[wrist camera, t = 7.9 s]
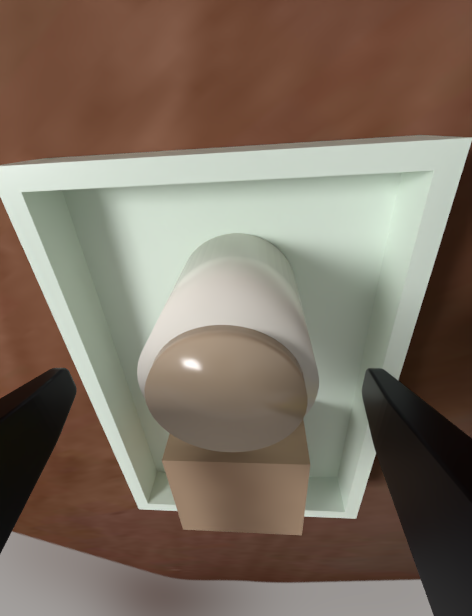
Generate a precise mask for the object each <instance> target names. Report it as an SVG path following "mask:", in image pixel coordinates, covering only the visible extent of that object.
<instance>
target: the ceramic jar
mask: <svg viewBox="0 0 472 616" xmlns="http://www.w3.org/2000/svg"><path fill="white" fill-rule="evenodd" d="M137 377H138V383H139V387H140V390H141V392H142V394H143V396H144V398H145V400H146V404H147V406H148V409H149V411H150V413H151V414H152V416H153V417H154V419H155V420H156V421H157V422H158V424H160V425H161V426H162V427H163V428H164V429H165V430H166V431H167V432H169V433H170V434H171V435H173V436H175V437H176V438H178V439H180V440H182V441H184V442H186V443H188V444H191V445H194V446H197V447H200V448H203V449H208V450H213V451H220V452H245V451H252V450H258V449H261V448H265V447H268V446H271V445H273V444H275V443H277V442H279V441H281V440H283V439H284V438H286V437H287V436H289V435H290V434H291V433H292V432H293V431H295V429H296V428H297V427H298V426H299V425H300V423H301V422H302V420H303V418H304V417H305V415H306V414H307V413H308V412H309V411H310V409H311V407H312V406H313V404H314V402H315V400H316V397H317V394H318V389H319V375H318V369H317V365H316V361H315V357H314V353H313V349H312V345H311V341H310V337H309V333H308V329H307V325H306V321H305V317H304V313H303V309H302V305H301V301H300V296H299V292H298V288H297V284H296V280H295V276H294V273H293V270H292V267H291V265H290V263H289V261H288V260H287V258H286V257H285V255H284V254H283V253H282V252H281V251H280V250H279V249H278V248H277V247H276V246H274V245H273V244H271V243H270V242H268V241H266V240H264V239H262V238H260V237H257V236H253V235H249V234H243V233H232V234H225V235H221V236H217V237H215V238H212V239H210V240H208V241H206V242H204V243H203V244H202V245H200V246H199V247H198V248H197V249H196V250H195V251H194V252H193V253H192V254H191V256H190V257H189V258H188V260H187V262H186V264H185V266H184V268H183V270H182V272H181V274H180V276H179V278H178V280H177V282H176V284H175V286H174V288H173V290H172V292H171V294H170V296H169V298H168V300H167V302H166V304H165V306H164V308H163V310H162V312H161V314H160V316H159V318H158V320H157V322H156V324H155V326H154V328H153V330H152V332H151V334H150V336H149V338H148V340H147V342H146V344H145V346H144V348H143V350H142V352H141V355H140V358H139V361H138V367H137Z"/></svg>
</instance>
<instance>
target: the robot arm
mask: <svg viewBox="0 0 472 616" xmlns="http://www.w3.org/2000/svg"><path fill="white" fill-rule="evenodd" d="M75 395H76V385H75V383H74V381H73V379H72V377H71V374H70V372H69V371H68V370H67V369H66V368H52V369H50V370H48V371H47V372H45V373H43V374H41V375H40V376H38V377H36V378H35V379H33V380H31V381H30V382H28V383H26V384H24V385H23V386H21V387H19V388H18V389H16V390H14V391H13V392H11V393H9V394H7V395H6V396H4V397H2V398H1V399H0V553H1V551H2V549H3V547H4V546H5V543H6V541H7V540H8V538H9V536H10V533H11V532H12V530H13V528H14V526H15V524H16V522H17V520H18V518H19V516H20V514H21V512H22V510H23V508H24V506H25V504H26V502H27V500H28V498H29V496H30V494H31V492H32V490H33V488H34V486H35V485H36V483H37V481H38V479H39V477H40V475H41V473H42V471H43V469H44V467H45V465H46V463H47V461H48V459H49V457H50V455H51V453H52V451H53V449H54V447H55V445H56V443H57V441H58V438H59V436H60V434H61V431H62V429H63V426H64V424H65V421H66V418H67V416H68V413H69V411H70V408H71V406H72V403H73V401H74V398H75ZM362 398H363V402H364V407H365V411H366V415H367V420H368V424H369V428H370V432H371V437H372V441H373V445H374V448H375V451H376V454H377V457H378V460H379V463H380V466H381V469H382V471H383V474H384V477H385V480H386V483H387V485H388V488H389V491H390V494H391V497H392V500H393V502H394V505H395V508H396V511H397V514H398V516H399V519H400V522H401V525H402V528H403V530H404V533H405V536H406V539H407V542H408V544H409V547H410V550H411V553H412V556H413V558H414V561H415V564H416V567H417V570H418V573H419V575H420V578H421V581H422V584H423V587H424V589H425V592H426V595H427V597H428V601H429V603H430V606H431V609H432V612H433V614H434V616H472V438H470V437H469V436H468V435H467V434H465V433H464V432H463V431H461V430H460V429H459V428H458V427H456V426H455V425H454V424H453V423H451V422H450V421H449V420H448V419H446V418H445V417H444V416H442V415H441V414H440V413H439V412H437V411H436V410H435V409H434V408H432V407H431V406H430V405H429V404H427V403H426V402H425V401H423V400H422V399H421V398H420V397H418V396H417V395H416V394H415V393H413V392H412V391H411V390H410V389H408V388H407V387H406V386H404V385H403V384H402V383H401V382H399V381H398V380H397V379H396V378H394V377H393V376H392V375H391V374H389V373H388V372H387V371H385V370H384V369H382V368H368V369H367V370H366V372H365V377H364V381H363V386H362Z"/></svg>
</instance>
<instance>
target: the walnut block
mask: <svg viewBox="0 0 472 616" xmlns="http://www.w3.org/2000/svg"><path fill="white" fill-rule="evenodd" d="M162 463H163V466H164V469H165V473H166V476H167V479H168V482H169V485H170V489H171V492H172V495H173V498H174V501H175V504H176V508H177V511H178V514H179V517H180V520H181V524H182V527H183V529H184V530H205V531H225V532H246V533H266V534H286V535H302V529H303V521H304V513H305V505H306V497H307V489H308V480H309V472H310V459H309V452H308V446H307V439H306V433H305V426H304V420H302V422H301V423H300V425H299V426H298V427H297V428H296V429H295V431H293V432H292V433H291V434H290V435H289V436H287V437H286V438H284V439H283V440H281V441H279V442H277V443H275V444H273V445H271V446H268V447H265V448H261V449H258V450H252V451H245V452H220V451H213V450H208V449H203V448H200V447H197V446H194V445H191V444H188V443H186V442H184V441H182V440H180V439H178V438H176V437H175V436H173V435H171V434H169V437H168V440H167V444H166V447H165V451H164V454H163V458H162Z"/></svg>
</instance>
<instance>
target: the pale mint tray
mask: <svg viewBox="0 0 472 616" xmlns="http://www.w3.org/2000/svg"><path fill="white" fill-rule="evenodd" d="M471 141H472V138H470V137H451V136H431V135H414V136H398V137H382V138H366V139H350V140H334V141H318V142H301V143H285V144H269V145H253V146H237V147H221V148H204V149H188V150H172V151H156V152H140V153H124V154H107V155H91V156H75V157H59V158H44V159H37V160H30V161H24V162H17V163H10V164H3V165H0V197H1V199H2V202H3V204H4V206H5V208H6V211H7V213H8V215H9V217H10V220H11V222H12V224H13V226H14V229H15V231H16V233H17V235H18V238H19V240H20V242H21V244H22V247H23V249H24V251H25V253H26V256H27V258H28V260H29V262H30V265H31V267H32V269H33V271H34V274H35V276H36V278H37V280H38V283H39V285H40V287H41V289H42V292H43V294H44V296H45V298H46V301H47V303H48V305H49V307H50V310H51V312H52V314H53V317H54V319H55V321H56V323H57V326H58V328H59V330H60V332H61V335H62V337H63V339H64V341H65V344H66V346H67V348H68V350H69V353H70V355H71V357H72V359H73V362H74V364H75V366H76V368H77V371H78V373H79V375H80V377H81V380H82V382H83V384H84V386H85V389H86V391H87V393H88V395H89V398H90V400H91V402H92V404H93V407H94V409H95V411H96V413H97V416H98V418H99V420H100V422H101V425H102V427H103V429H104V431H105V434H106V436H107V438H108V440H109V443H110V445H111V447H112V449H113V452H114V454H115V456H116V458H117V461H118V463H119V465H120V467H121V470H122V472H123V474H124V476H125V479H126V481H127V483H128V485H129V488H130V490H131V492H132V494H133V497H134V499H135V501H136V503H137V506H138V508H139V509H146V510H169V511H177V508H176V504H175V501H174V498H173V495H172V492H171V489H170V485H169V482H168V479H167V476H166V473H165V469H164V466H163V463H162V458H163V454H164V451H165V447H166V444H167V440H168V437H169V434H170V433H169V432H167V431H166V430H165V429H164V428H163V427H162V426H161V425H160V424H158V422H157V421H156V420H155V419H154V417H153V416H152V414H151V413H150V411H149V409H148V406H147V404H146V400H145V398H144V396H143V394H142V392H141V390H140V387H139V383H138V377H137V367H138V361H139V358H140V355H141V352H142V350H143V348H144V346H145V344H146V342H147V340H148V338H149V336H150V334H151V332H152V330H153V328H154V326H155V324H156V322H157V320H158V318H159V316H160V314H161V312H162V310H163V308H164V306H165V304H166V302H167V300H168V298H169V296H170V294H171V292H172V290H173V288H174V286H175V284H176V282H177V280H178V278H179V276H180V274H181V272H182V270H183V268H184V266H185V264H186V262H187V260H188V258H189V257H190V256H191V254H192V253H193V252H194V251H195V250H196V249H197V248H198V247H199V246H200V245H202V244H203V243H204V242H206V241H208V240H210V239H212V238H215V237H217V236H221V235H225V234H232V233H243V234H249V235H253V236H257V237H260V238H262V239H264V240H266V241H268V242H270V243H271V244H273V245H274V246H276V247H277V248H278V249H279V250H280V251H281V252H282V253H283V254H284V255H285V257H286V258H287V260H288V261H289V263H290V265H291V267H292V270H293V273H294V276H295V280H296V284H297V288H298V292H299V296H300V301H301V305H302V309H303V313H304V317H305V321H306V325H307V329H308V333H309V337H310V341H311V345H312V349H313V353H314V357H315V361H316V365H317V369H318V375H319V389H318V394H317V397H316V400H315V402H314V404H313V406H312V407H311V409H310V411H309V412H308V413H307V414H306V415H305V417H304V418H303V420H304V426H305V433H306V439H307V446H308V452H309V459H310V472H309V480H308V489H307V497H306V505H305V513H304V516H307V517H330V518H353V519H356V517H357V514H358V511H359V507H360V504H361V501H362V498H363V494H364V491H365V488H366V484H367V481H368V478H369V475H370V471H371V468H372V465H373V462H374V458H375V455H376V451H375V448H374V445H373V441H372V437H371V432H370V428H369V424H368V420H367V415H366V411H365V407H364V402H363V398H362V386H363V381H364V377H365V372H366V370H367V369H368V368H382V369H384V370H385V371H387V372H388V373H389V374H391V375H392V376H393V377H394V378H396V379H397V380H399V377H400V373H401V370H402V367H403V364H404V360H405V357H406V354H407V350H408V347H409V344H410V341H411V337H412V334H413V331H414V328H415V324H416V321H417V318H418V315H419V311H420V308H421V305H422V301H423V298H424V295H425V292H426V288H427V285H428V282H429V279H430V275H431V272H432V269H433V266H434V262H435V259H436V256H437V252H438V249H439V246H440V243H441V239H442V236H443V233H444V230H445V226H446V223H447V220H448V217H449V213H450V210H451V207H452V203H453V200H454V197H455V194H456V190H457V187H458V184H459V181H460V177H461V174H462V171H463V168H464V164H465V161H466V158H467V154H468V151H469V148H470V145H471Z"/></svg>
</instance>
